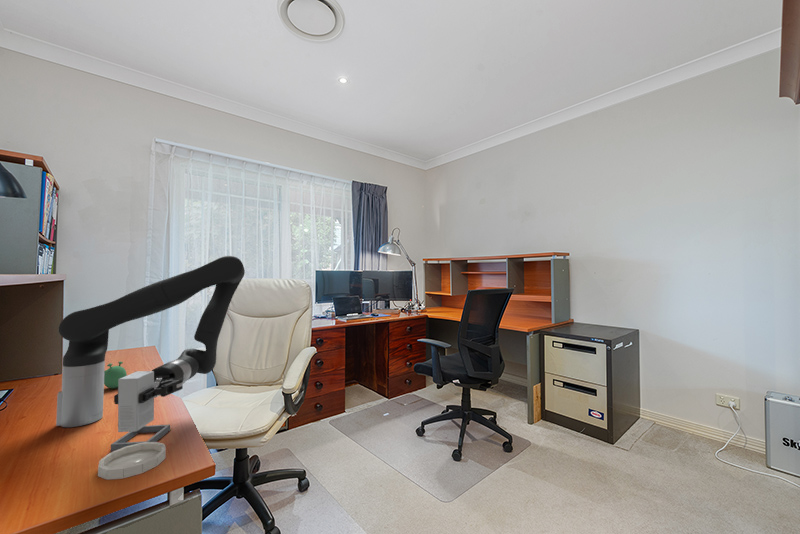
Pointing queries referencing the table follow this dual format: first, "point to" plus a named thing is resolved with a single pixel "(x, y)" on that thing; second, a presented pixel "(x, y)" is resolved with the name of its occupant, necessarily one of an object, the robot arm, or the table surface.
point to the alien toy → (113, 375)
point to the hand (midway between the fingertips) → (128, 399)
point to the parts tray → (153, 428)
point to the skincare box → (134, 401)
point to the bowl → (131, 460)
